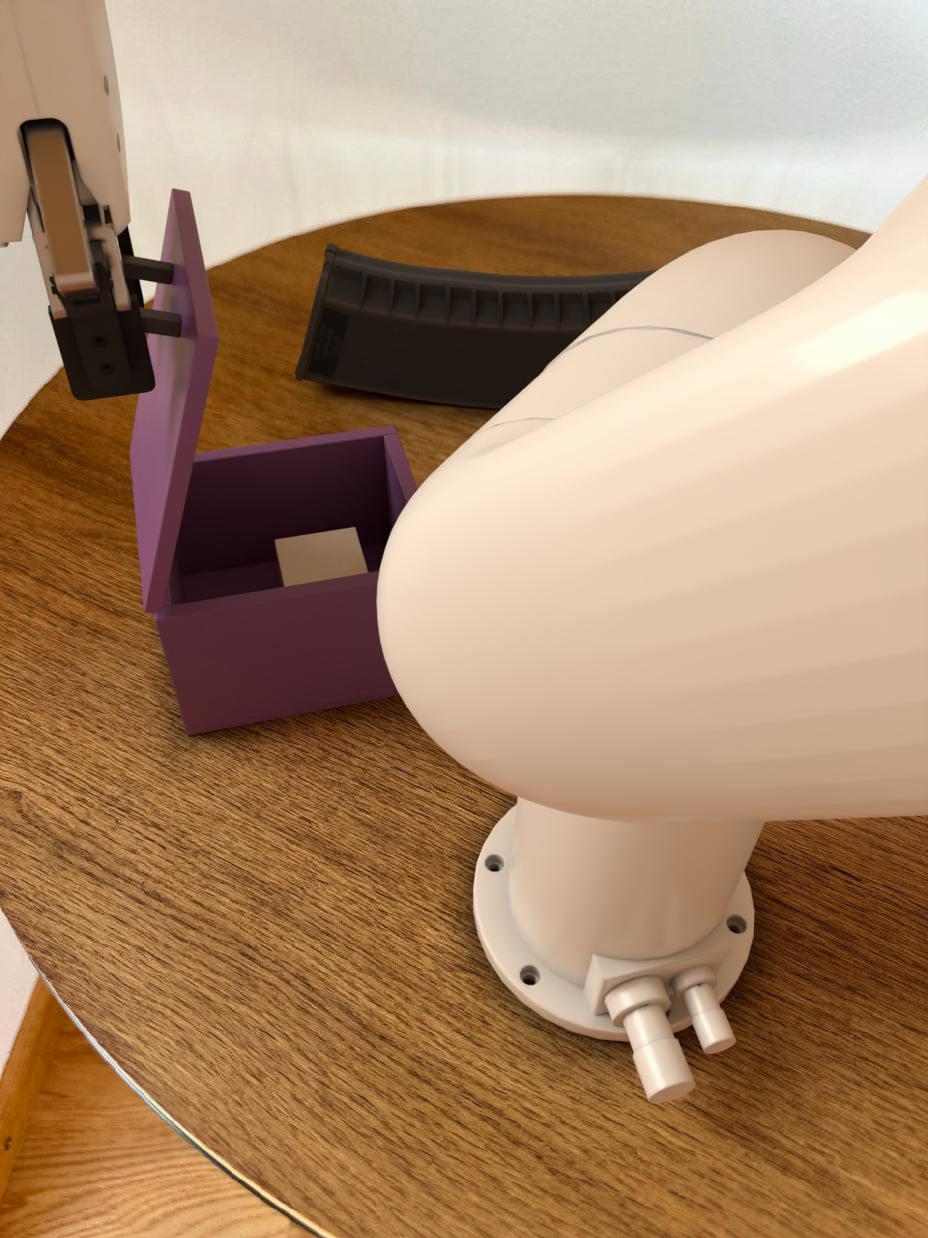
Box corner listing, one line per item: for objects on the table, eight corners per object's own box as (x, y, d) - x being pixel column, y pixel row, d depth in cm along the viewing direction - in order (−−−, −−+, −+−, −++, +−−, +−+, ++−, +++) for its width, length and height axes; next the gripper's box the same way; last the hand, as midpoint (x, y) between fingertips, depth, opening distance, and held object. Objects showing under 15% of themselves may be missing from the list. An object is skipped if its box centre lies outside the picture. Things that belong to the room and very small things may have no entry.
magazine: (244, 276, 68) (729, 168, 61) (255, 250, 70) (725, 143, 63) (338, 481, 80) (753, 412, 72) (345, 453, 82) (748, 384, 75)
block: (359, 583, 62) (355, 526, 58) (374, 639, 59) (371, 582, 55) (282, 596, 61) (274, 539, 57) (294, 653, 58) (286, 597, 55)
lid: (190, 190, 47) (68, 165, 45) (219, 337, 39) (74, 315, 37) (145, 454, 56) (42, 443, 54) (162, 614, 48) (42, 608, 46)
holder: (398, 541, 65) (394, 424, 59) (444, 687, 58) (447, 570, 51) (169, 578, 63) (139, 460, 56) (186, 736, 55) (154, 620, 49)
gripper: (-135, -242, 36) (17, 258, 50) (-201, -92, 25) (17, 498, 39) (96, -246, 38) (183, 240, 51) (129, -106, 27) (228, 466, 40)
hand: (110, 347), depth 45 cm, fingers closed on lid, 5 cm apart
